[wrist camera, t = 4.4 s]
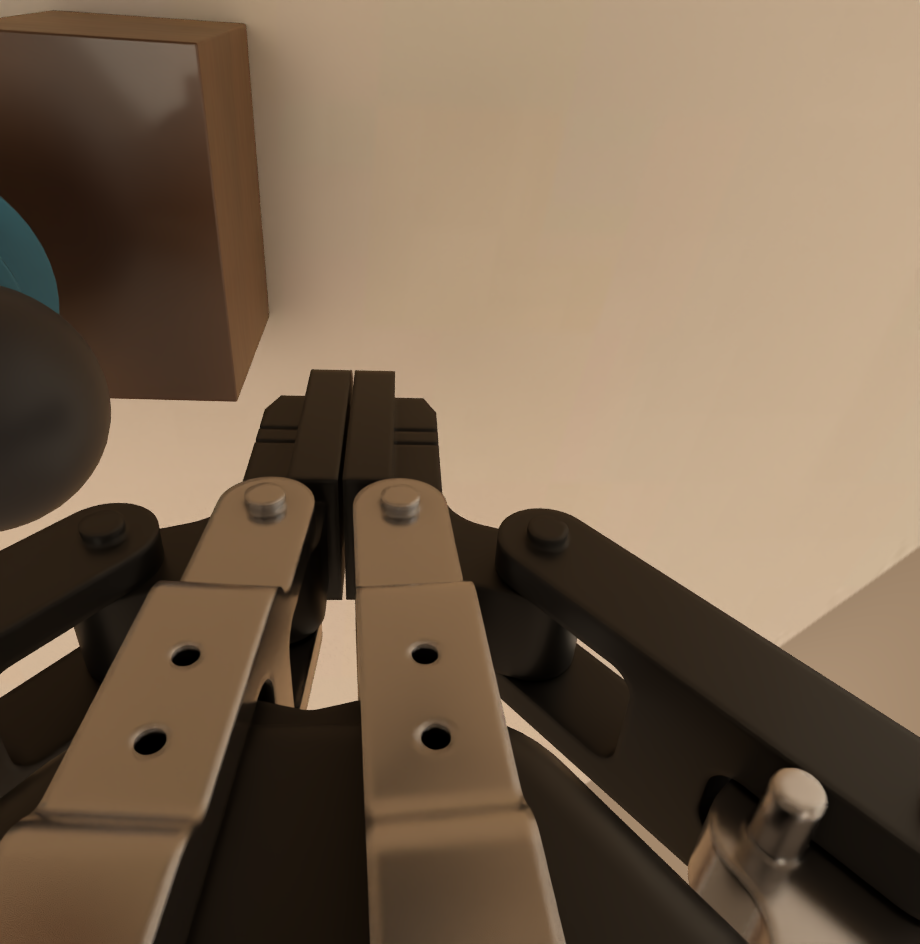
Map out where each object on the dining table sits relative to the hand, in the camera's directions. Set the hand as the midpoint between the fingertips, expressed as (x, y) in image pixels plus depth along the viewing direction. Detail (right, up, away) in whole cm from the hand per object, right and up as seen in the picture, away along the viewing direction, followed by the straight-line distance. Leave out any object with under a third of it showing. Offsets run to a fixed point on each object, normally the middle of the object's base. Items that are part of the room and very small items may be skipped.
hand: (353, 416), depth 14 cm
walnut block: (-8, +9, +13) cm, 18 cm away
